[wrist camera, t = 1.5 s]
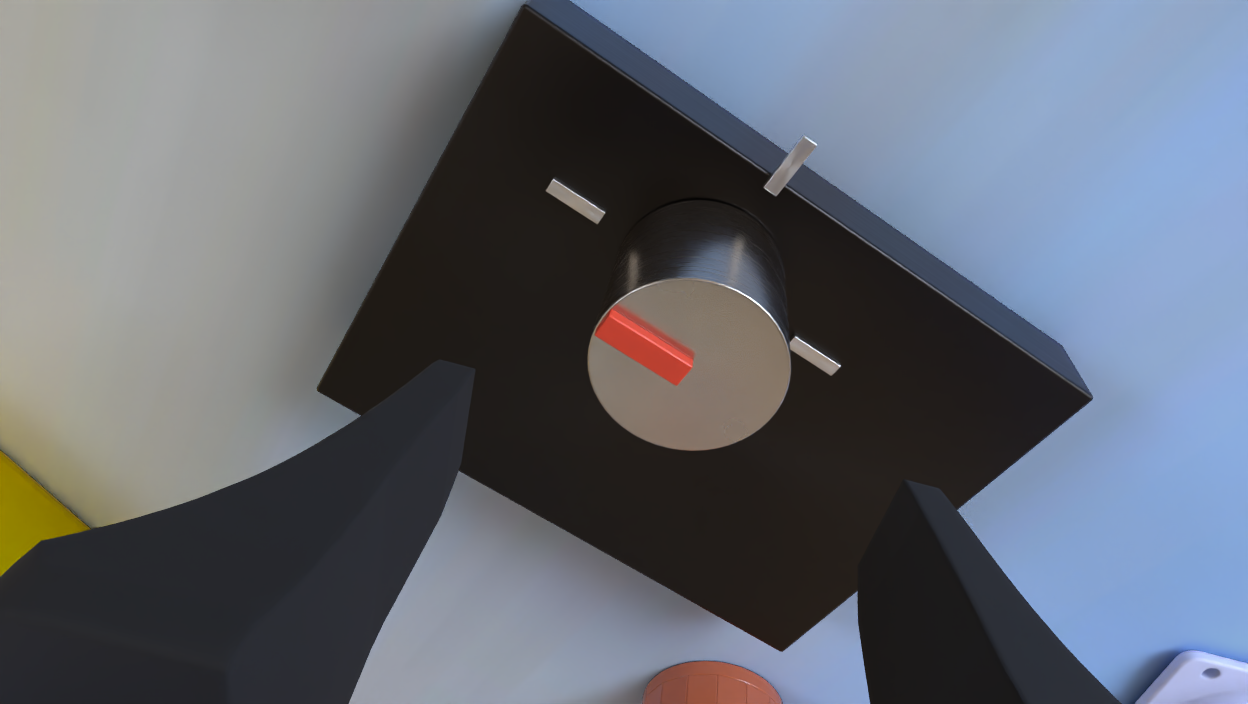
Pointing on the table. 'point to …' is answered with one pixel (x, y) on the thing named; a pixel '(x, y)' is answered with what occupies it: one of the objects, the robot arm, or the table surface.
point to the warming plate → (572, 296)
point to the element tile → (28, 514)
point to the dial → (693, 328)
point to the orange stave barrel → (709, 685)
